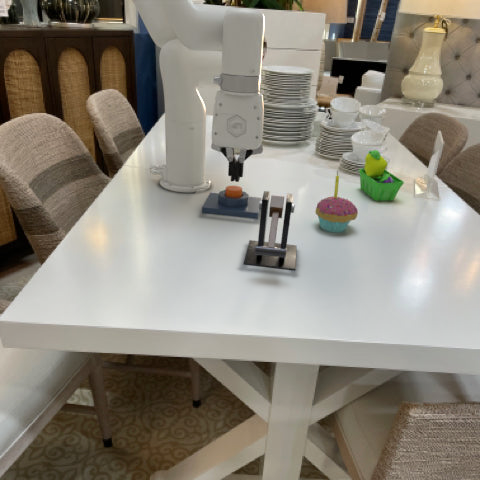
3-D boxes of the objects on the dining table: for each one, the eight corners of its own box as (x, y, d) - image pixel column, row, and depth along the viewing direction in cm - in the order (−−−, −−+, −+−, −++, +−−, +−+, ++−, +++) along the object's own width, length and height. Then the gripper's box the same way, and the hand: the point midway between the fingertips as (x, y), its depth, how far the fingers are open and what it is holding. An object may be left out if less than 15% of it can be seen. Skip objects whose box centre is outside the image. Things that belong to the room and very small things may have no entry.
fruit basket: (400, 202, 118) (412, 156, 112) (368, 202, 116) (378, 156, 110) (380, 187, 127) (390, 144, 121) (349, 188, 126) (358, 144, 119)
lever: (285, 261, 76) (286, 251, 74) (254, 258, 76) (254, 248, 74) (291, 207, 82) (292, 197, 80) (262, 204, 82) (263, 194, 80)
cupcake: (305, 225, 101) (313, 169, 94) (338, 221, 104) (348, 167, 98) (326, 241, 95) (337, 182, 88) (361, 237, 98) (374, 179, 91)
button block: (201, 216, 101) (202, 198, 99) (209, 201, 110) (210, 184, 107) (257, 223, 100) (258, 204, 98) (261, 207, 109) (262, 190, 107)
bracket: (294, 275, 82) (304, 209, 75) (243, 269, 82) (248, 203, 76) (295, 251, 90) (304, 190, 83) (249, 245, 90) (254, 184, 84)
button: (224, 197, 102) (224, 189, 101) (226, 192, 105) (227, 184, 104) (240, 199, 101) (241, 191, 100) (242, 194, 104) (243, 186, 103)
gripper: (198, 84, 88) (197, 181, 98) (278, 90, 87) (268, 188, 97) (205, 79, 95) (204, 172, 104) (280, 85, 94) (271, 178, 103)
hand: (235, 179), depth 101 cm, fingers closed
